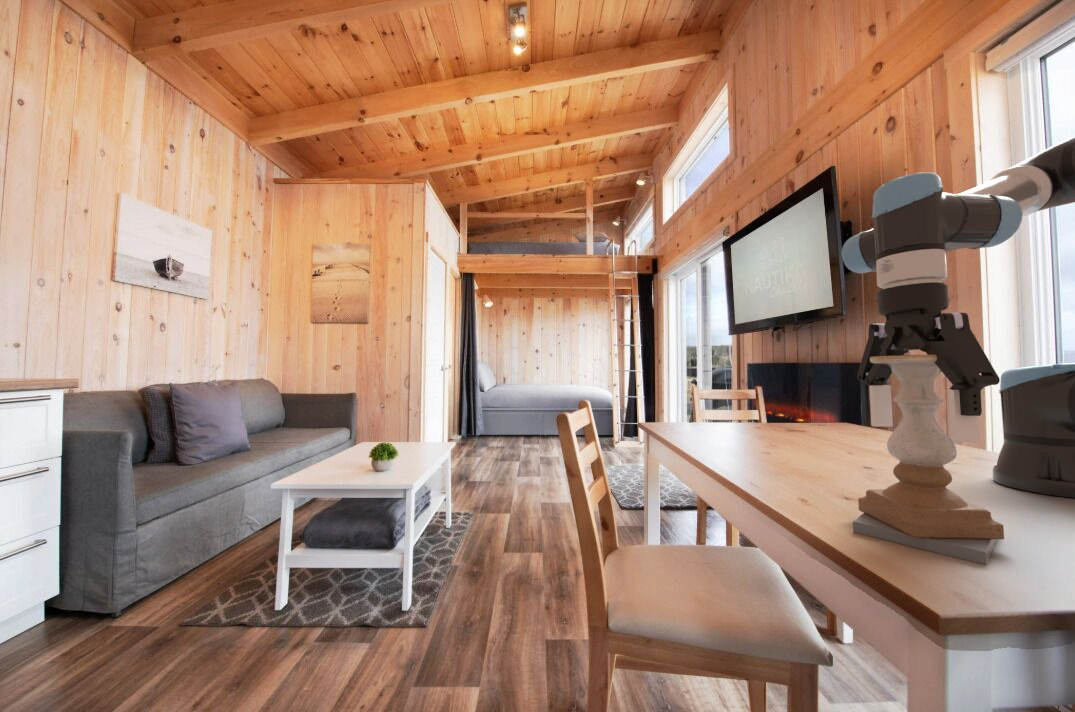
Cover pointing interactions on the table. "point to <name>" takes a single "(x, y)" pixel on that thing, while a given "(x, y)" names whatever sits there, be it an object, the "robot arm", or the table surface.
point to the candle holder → (923, 465)
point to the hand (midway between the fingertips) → (918, 433)
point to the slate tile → (927, 540)
